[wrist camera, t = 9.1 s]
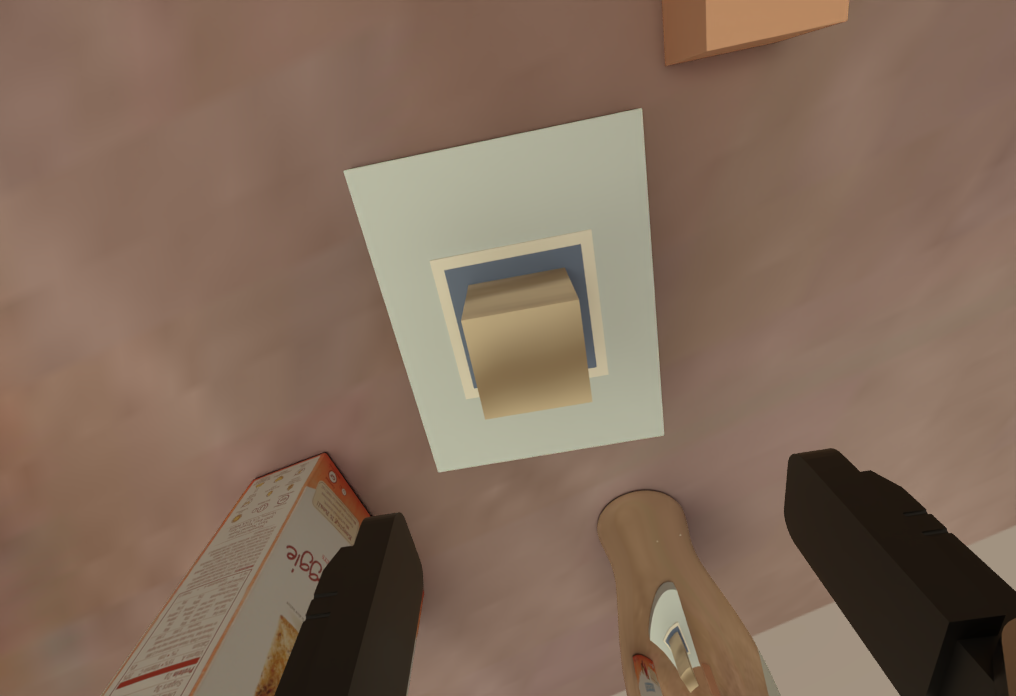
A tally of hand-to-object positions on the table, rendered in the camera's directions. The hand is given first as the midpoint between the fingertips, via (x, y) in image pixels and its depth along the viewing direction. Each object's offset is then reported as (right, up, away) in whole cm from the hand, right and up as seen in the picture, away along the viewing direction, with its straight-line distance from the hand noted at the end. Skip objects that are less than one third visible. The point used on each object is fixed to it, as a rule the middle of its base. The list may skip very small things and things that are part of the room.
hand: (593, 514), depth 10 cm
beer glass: (+7, -9, +24) cm, 26 cm away
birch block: (-1, +5, +16) cm, 16 cm away
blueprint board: (-1, +5, +17) cm, 18 cm away
